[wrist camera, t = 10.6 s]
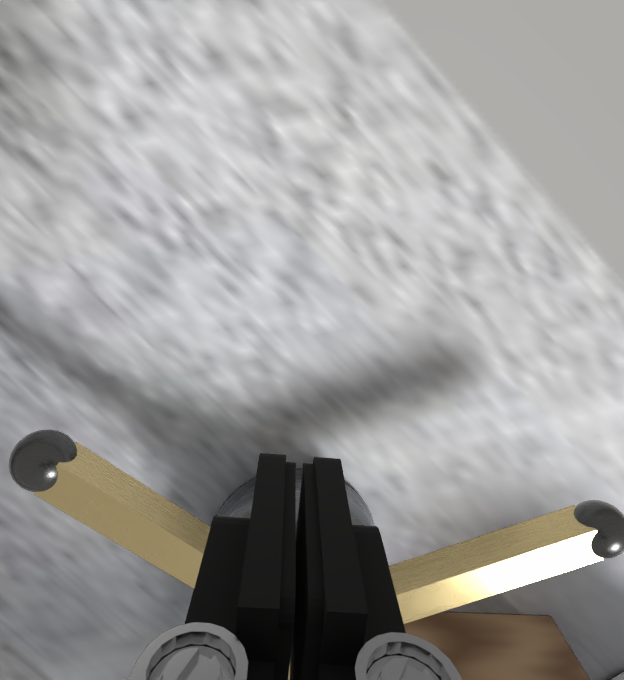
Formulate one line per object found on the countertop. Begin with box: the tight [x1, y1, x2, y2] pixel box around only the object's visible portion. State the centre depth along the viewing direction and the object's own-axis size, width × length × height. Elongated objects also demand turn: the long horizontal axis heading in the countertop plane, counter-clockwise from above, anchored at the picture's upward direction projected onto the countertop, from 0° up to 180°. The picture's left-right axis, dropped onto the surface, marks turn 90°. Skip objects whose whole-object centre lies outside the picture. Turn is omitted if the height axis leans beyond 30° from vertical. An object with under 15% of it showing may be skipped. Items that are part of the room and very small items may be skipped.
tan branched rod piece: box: [9, 430, 624, 680], centre depth 19 cm, size 22×19×7 cm
